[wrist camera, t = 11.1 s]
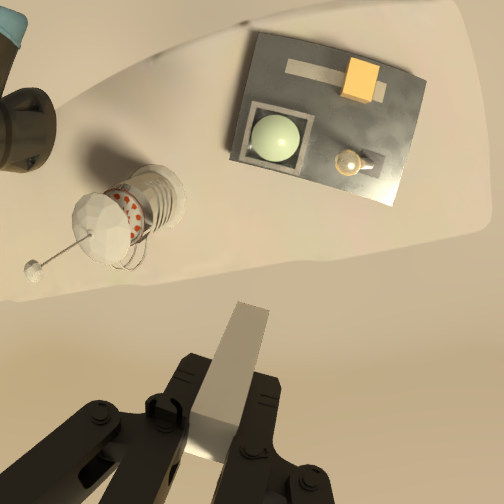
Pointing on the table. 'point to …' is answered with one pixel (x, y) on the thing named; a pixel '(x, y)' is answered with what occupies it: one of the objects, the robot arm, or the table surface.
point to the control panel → (329, 115)
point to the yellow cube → (359, 80)
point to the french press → (123, 217)
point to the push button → (275, 137)
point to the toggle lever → (351, 162)
